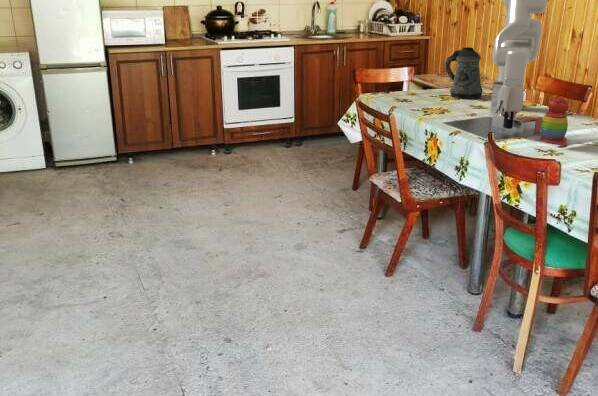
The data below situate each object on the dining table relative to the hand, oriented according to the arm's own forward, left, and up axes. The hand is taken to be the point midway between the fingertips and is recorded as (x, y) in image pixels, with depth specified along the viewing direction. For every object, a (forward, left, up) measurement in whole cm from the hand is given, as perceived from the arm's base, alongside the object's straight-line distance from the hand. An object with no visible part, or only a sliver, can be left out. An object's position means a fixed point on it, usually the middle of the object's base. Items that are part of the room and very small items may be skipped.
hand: (507, 128), depth 234 cm
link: (-5, -3, -2) cm, 6 cm away
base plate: (+1, -9, -3) cm, 9 cm away
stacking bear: (-7, +17, -3) cm, 19 cm away
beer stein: (-34, -70, -3) cm, 77 cm away
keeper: (-7, +4, -2) cm, 8 cm away
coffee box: (-19, -24, -3) cm, 30 cm away
